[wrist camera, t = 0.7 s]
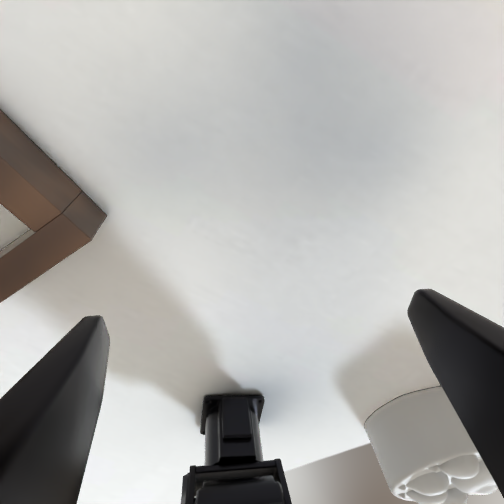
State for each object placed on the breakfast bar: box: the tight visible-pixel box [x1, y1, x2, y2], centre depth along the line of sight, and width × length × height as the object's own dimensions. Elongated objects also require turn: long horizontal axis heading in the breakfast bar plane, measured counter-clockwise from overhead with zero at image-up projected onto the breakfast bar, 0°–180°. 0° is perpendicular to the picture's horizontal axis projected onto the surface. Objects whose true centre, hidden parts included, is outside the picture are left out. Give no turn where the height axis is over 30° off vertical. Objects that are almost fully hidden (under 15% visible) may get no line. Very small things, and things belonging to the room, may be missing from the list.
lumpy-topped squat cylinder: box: [365, 386, 498, 504], centre depth 37 cm, size 10×13×9 cm
